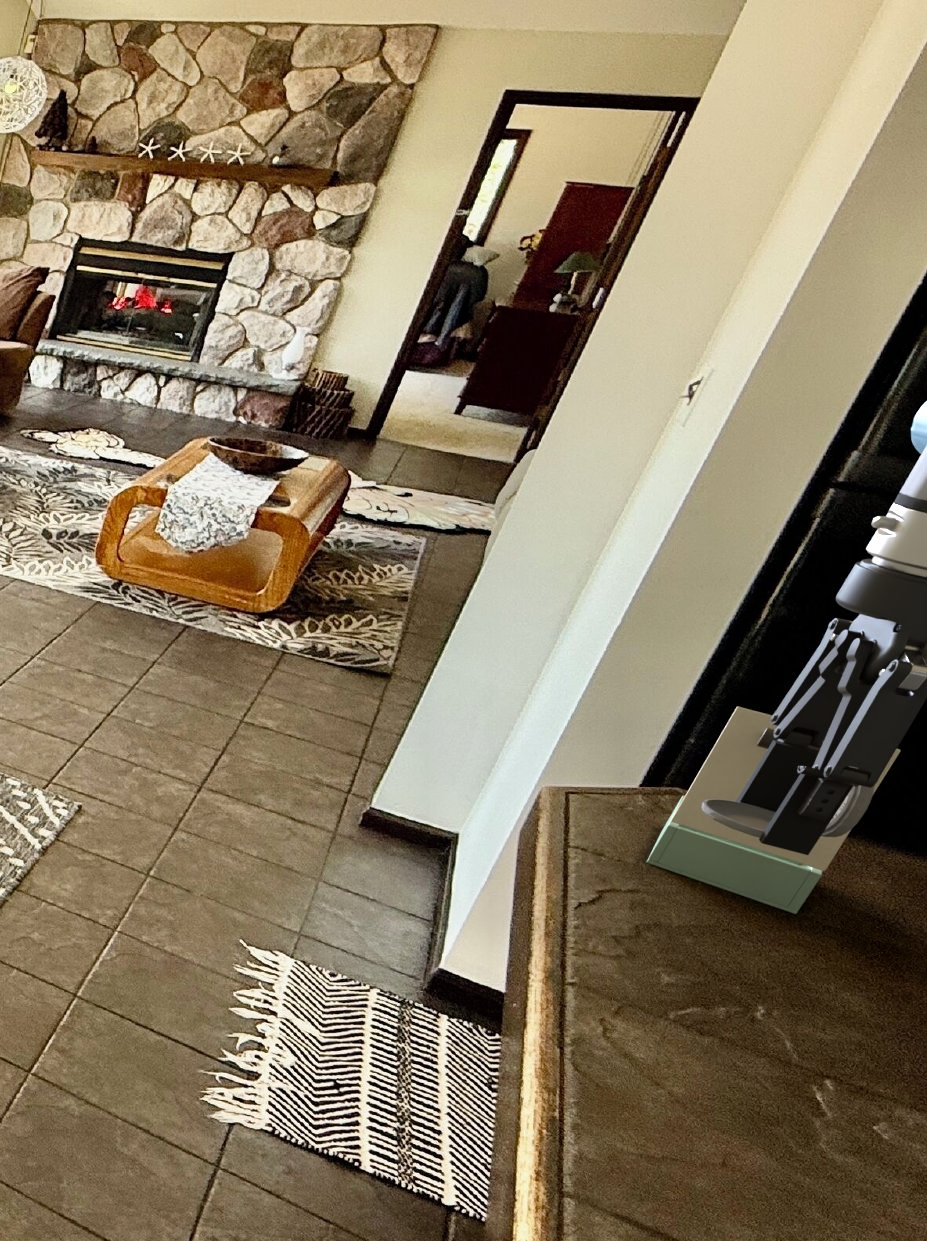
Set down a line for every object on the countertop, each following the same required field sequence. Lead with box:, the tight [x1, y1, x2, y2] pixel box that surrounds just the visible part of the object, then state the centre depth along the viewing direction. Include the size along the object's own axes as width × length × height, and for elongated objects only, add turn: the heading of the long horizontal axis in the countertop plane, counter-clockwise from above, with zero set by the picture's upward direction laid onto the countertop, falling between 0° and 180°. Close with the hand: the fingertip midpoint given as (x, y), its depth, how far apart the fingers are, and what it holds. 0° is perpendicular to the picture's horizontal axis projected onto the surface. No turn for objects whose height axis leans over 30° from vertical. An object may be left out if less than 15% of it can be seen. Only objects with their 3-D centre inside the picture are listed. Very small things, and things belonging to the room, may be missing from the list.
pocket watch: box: [701, 766, 875, 838], centre depth 96 cm, size 8×8×10 cm
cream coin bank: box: [671, 706, 901, 872], centre depth 107 cm, size 12×10×9 cm
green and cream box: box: [646, 795, 823, 915], centre depth 116 cm, size 11×10×5 cm
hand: (769, 829), depth 98 cm, fingers closed on pocket watch, 7 cm apart
